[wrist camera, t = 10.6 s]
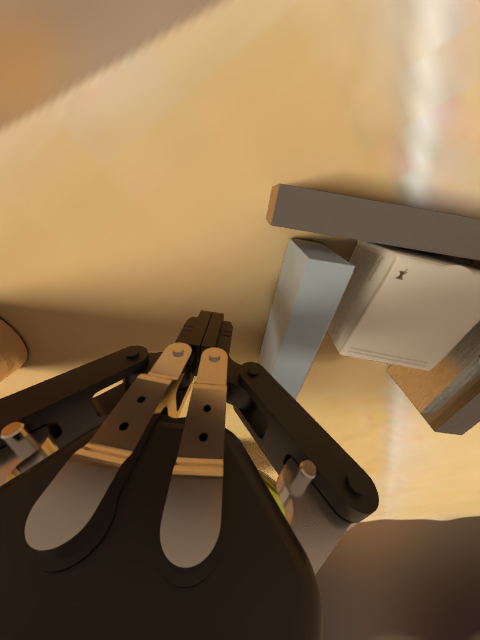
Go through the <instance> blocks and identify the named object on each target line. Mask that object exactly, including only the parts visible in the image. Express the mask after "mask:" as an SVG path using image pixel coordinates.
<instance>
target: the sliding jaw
mask: <svg viewBox="0 0 480 640" xmlns="http://www.w3.org/2000/svg"><path fill="white" fill-rule="evenodd" d="M354 268H355V266H354V265H353V264H351V263H350V262H348V261H347V260H345V259H344V258H342V257H341V256H339V255H338V254H336V253H335V252H333V251H332V250H330V249H329V248H327V247H326V246H324V245H323V244H321V243H317V242H311V241H305V240H299V239H293V238H289V242H288V246H287V250H286V253H285V257H284V261H283V265H282V269H281V273H280V277H279V280H278V284H277V288H276V292H275V296H274V300H273V304H272V307H271V311H270V315H269V319H268V323H267V327H266V330H265V334H264V338H263V342H262V346H261V350H260V354H259V364H260V365H261V366H263V367H264V368H265V369H266V370H267V371H268V372H269V373H270V375H271V376H272V377H273V378H274V379H275V380H276V381H277V382H278V383H279V384H280V385H281V386H282V387H283V388H284V389H285V390H286V391H287V392H288V393H289V394H290V395H291V396H292V397H293V398H294V399H296V396H297V395H298V393H299V391H300V389H301V387H302V384H303V382H304V380H305V378H306V376H307V373H308V371H309V369H310V367H311V364H312V362H313V360H314V358H315V356H316V353H317V351H318V349H319V347H320V345H321V342H322V340H323V338H324V336H325V334H326V331H327V329H328V327H329V325H330V322H331V320H332V318H333V316H334V314H335V311H336V309H337V307H338V305H339V303H340V300H341V298H342V296H343V294H344V292H345V289H346V287H347V285H348V283H349V280H350V278H351V276H352V274H353V272H354V271H353V270H354Z"/></svg>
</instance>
